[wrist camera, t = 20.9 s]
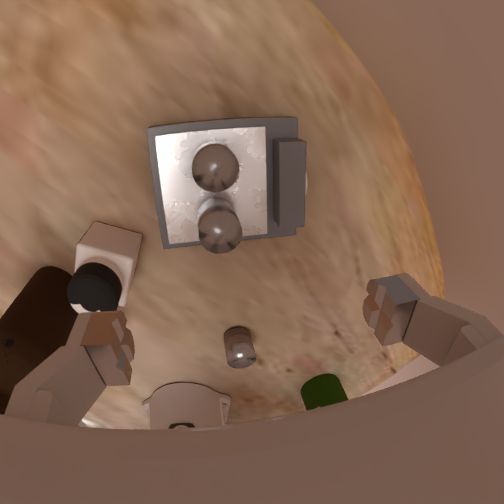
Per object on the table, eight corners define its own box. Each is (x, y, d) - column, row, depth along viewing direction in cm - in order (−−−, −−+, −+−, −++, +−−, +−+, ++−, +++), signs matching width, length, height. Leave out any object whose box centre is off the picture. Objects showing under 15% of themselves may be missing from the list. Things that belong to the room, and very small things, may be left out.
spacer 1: (232, 139, 31) (238, 144, 27) (234, 178, 33) (240, 190, 29) (190, 143, 30) (189, 148, 26) (194, 182, 33) (194, 194, 28)
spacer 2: (238, 199, 34) (245, 215, 30) (232, 234, 36) (239, 254, 32) (199, 196, 33) (200, 211, 29) (195, 232, 35) (196, 252, 31)
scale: (294, 227, 41) (307, 245, 36) (165, 240, 39) (161, 260, 34) (295, 116, 34) (310, 119, 29) (150, 126, 32) (141, 130, 27)
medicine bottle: (94, 220, 36) (60, 265, 25) (143, 233, 38) (125, 284, 27) (88, 264, 38) (60, 318, 28) (133, 277, 41) (118, 334, 30)
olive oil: (19, 271, 36) (-56, 390, 15) (67, 254, 37) (-10, 393, 15) (50, 322, 42) (3, 445, 20) (97, 311, 42) (59, 453, 20)
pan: (265, 231, 38) (267, 233, 37) (170, 241, 36) (169, 244, 36) (263, 126, 32) (265, 126, 31) (156, 135, 30) (155, 136, 29)
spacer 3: (218, 340, 48) (222, 364, 44) (233, 324, 47) (238, 349, 43) (240, 347, 50) (245, 370, 46) (255, 332, 49) (261, 355, 45)
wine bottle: (304, 376, 58) (357, 517, 29) (342, 370, 59) (404, 498, 31) (296, 400, 62) (340, 526, 33) (332, 394, 63) (382, 511, 35)
